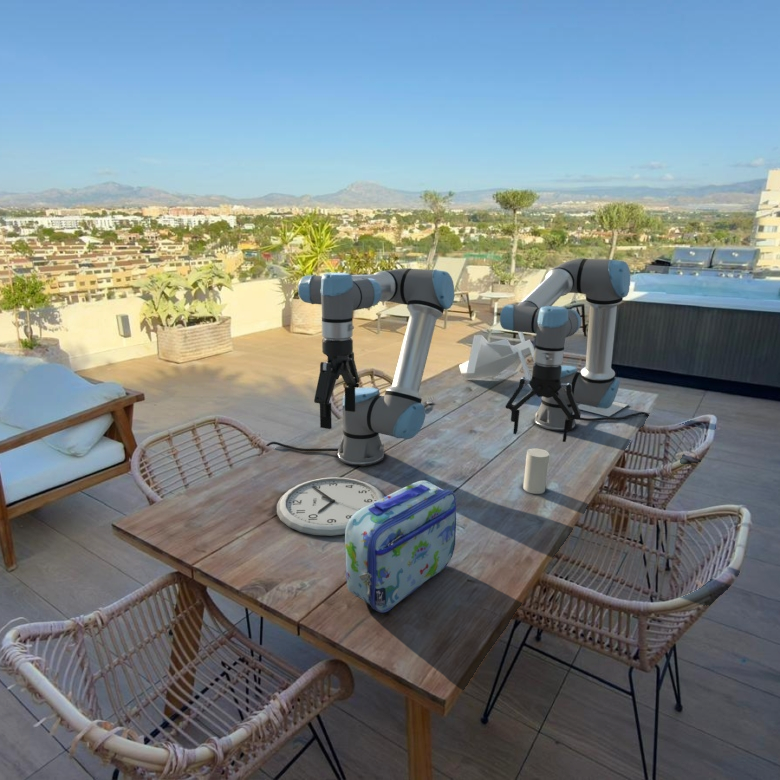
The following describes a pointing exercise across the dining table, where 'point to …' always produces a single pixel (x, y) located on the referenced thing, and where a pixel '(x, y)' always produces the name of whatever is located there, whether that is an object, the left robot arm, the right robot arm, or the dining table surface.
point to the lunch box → (399, 543)
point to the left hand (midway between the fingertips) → (338, 419)
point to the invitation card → (603, 409)
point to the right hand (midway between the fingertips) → (539, 436)
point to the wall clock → (325, 504)
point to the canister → (536, 471)
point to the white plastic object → (495, 357)
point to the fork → (428, 402)
